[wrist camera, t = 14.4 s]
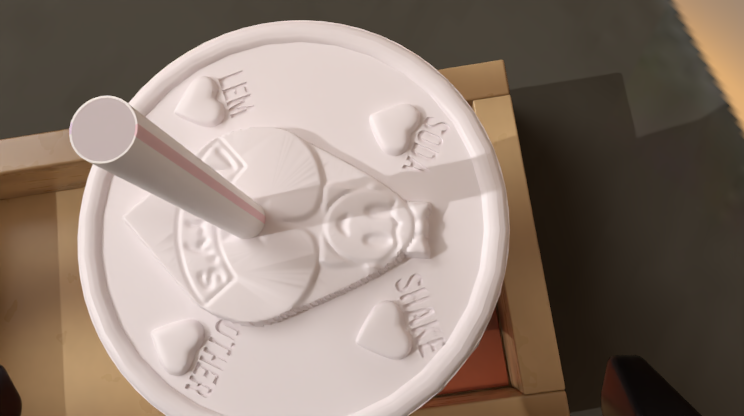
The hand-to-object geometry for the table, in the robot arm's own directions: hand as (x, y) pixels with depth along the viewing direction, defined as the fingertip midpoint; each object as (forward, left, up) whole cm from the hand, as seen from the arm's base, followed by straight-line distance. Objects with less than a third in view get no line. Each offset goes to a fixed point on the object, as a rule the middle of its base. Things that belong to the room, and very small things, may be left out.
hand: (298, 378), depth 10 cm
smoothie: (+2, +1, -9) cm, 9 cm away
